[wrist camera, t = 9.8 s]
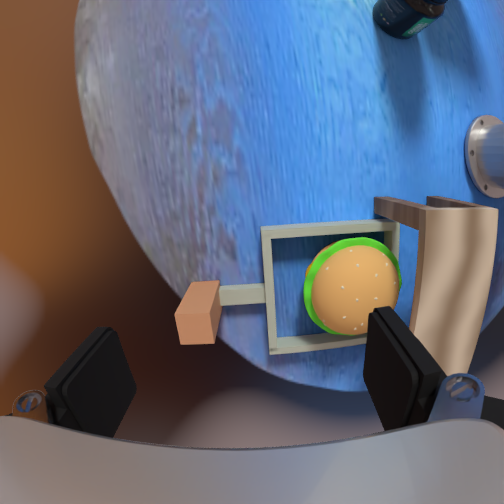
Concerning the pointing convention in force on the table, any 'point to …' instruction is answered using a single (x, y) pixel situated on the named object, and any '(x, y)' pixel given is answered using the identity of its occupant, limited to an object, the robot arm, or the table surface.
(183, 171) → the table surface
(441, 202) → the tunnel
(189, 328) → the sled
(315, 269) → the hamburger
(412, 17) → the supplement bottle
